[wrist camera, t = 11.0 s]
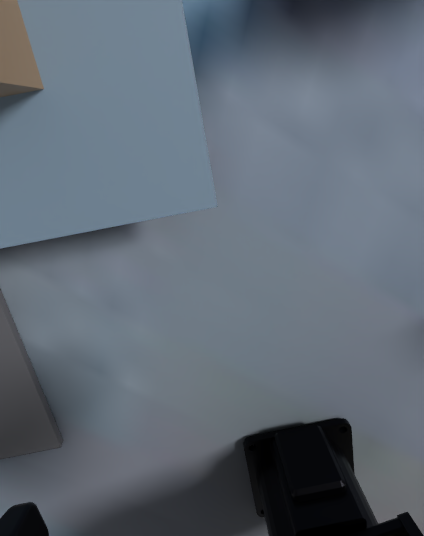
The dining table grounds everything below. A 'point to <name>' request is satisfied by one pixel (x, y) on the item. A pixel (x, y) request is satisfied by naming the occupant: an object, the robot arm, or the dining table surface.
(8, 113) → the cover
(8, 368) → the mat
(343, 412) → the dining table surface
